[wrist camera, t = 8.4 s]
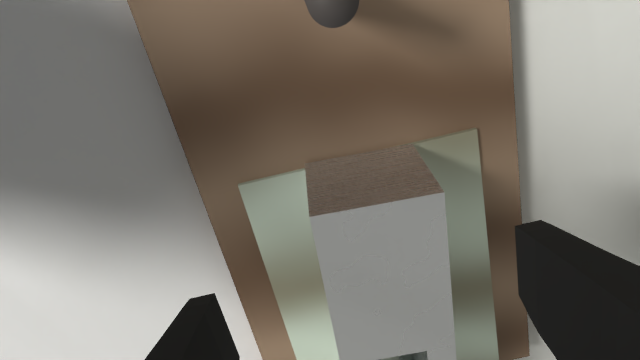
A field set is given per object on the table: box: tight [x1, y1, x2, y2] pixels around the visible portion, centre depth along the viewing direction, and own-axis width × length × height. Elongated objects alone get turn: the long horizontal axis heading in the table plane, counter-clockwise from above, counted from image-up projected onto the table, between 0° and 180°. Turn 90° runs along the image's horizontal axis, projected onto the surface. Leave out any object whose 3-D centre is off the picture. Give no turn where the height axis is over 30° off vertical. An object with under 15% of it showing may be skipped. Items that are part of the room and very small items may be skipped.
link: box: [305, 144, 457, 360], centre depth 18 cm, size 11×4×4 cm, turn 10°
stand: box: [127, 0, 529, 360], centre depth 15 cm, size 28×12×6 cm, turn 13°
